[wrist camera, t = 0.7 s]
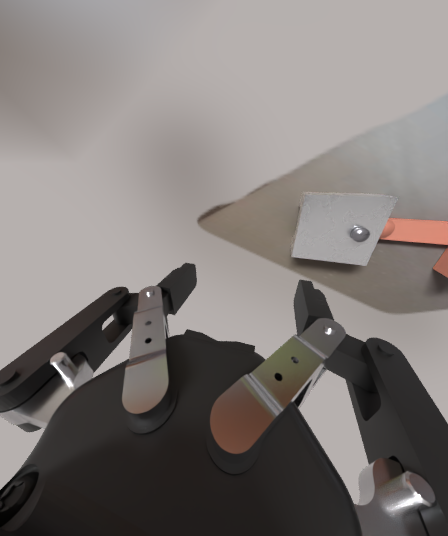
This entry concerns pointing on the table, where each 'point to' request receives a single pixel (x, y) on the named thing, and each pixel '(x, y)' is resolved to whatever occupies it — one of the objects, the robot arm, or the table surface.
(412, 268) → the table surface
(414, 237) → the salmon angled bracket
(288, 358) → the robot arm
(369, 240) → the metal block with knob
